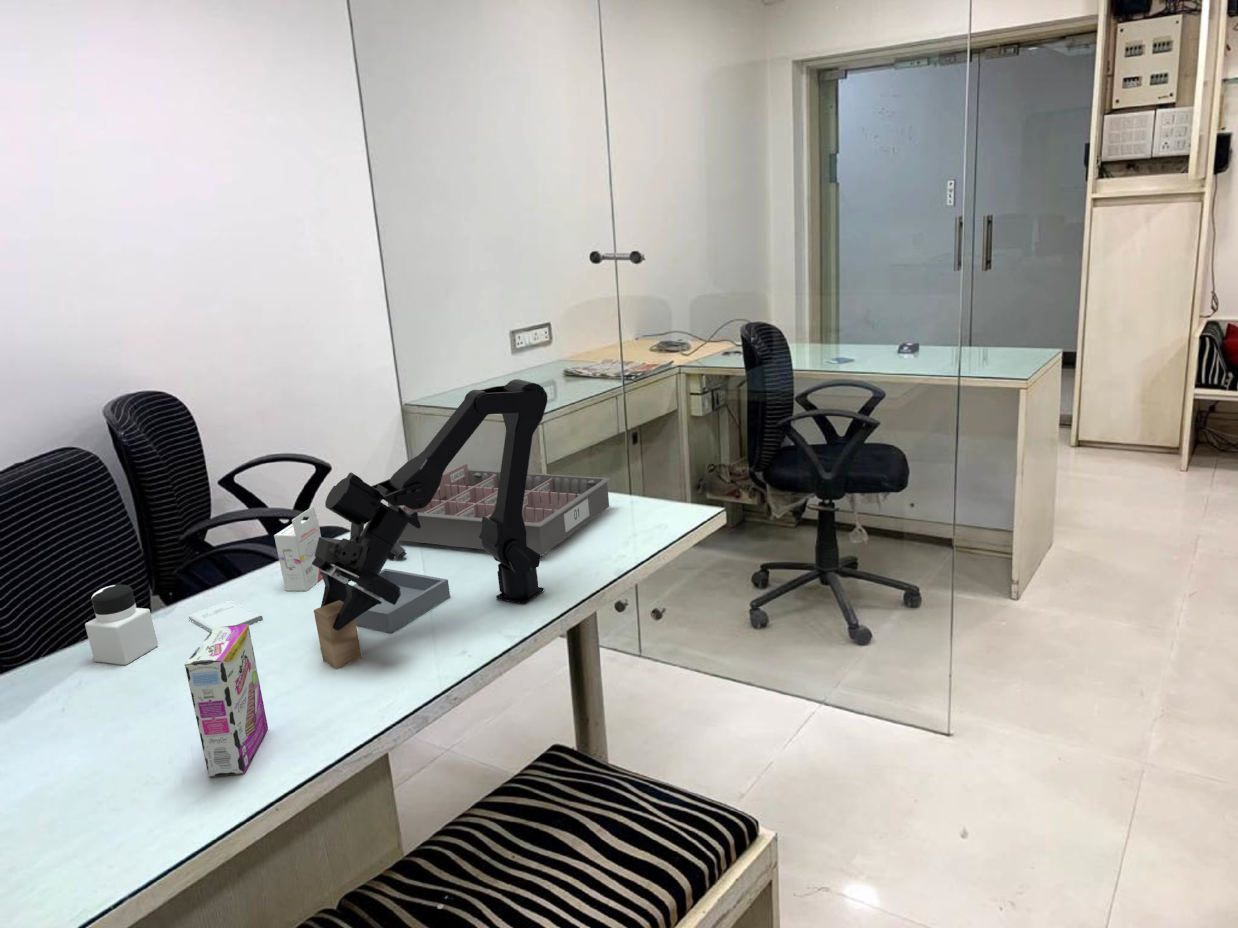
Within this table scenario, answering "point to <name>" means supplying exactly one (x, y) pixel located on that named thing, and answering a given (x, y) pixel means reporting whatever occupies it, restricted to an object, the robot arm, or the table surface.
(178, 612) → the table surface
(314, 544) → the ink cartridge box
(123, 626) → the medicine bottle
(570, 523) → the organizer tray
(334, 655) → the walnut block
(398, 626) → the charcoal bin
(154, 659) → the table surface
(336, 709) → the table surface
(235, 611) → the white power bank
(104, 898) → the table surface
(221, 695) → the candy bar box
